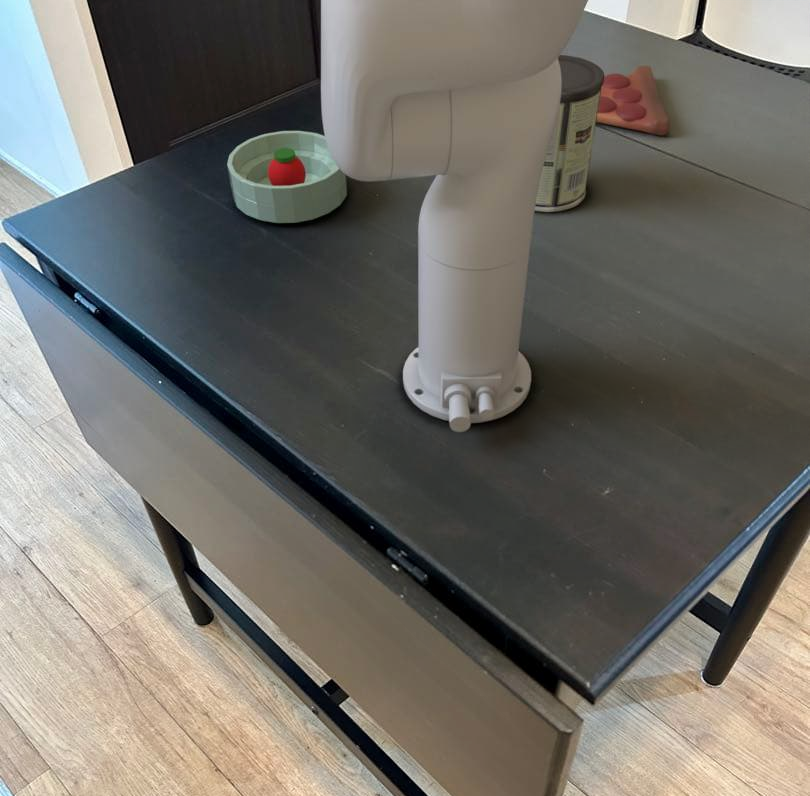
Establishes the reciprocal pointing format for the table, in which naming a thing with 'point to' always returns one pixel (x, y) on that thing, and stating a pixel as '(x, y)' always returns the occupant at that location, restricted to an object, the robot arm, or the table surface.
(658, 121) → the pizza slice
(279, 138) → the bowl
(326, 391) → the table surface
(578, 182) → the coffee can
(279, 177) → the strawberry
